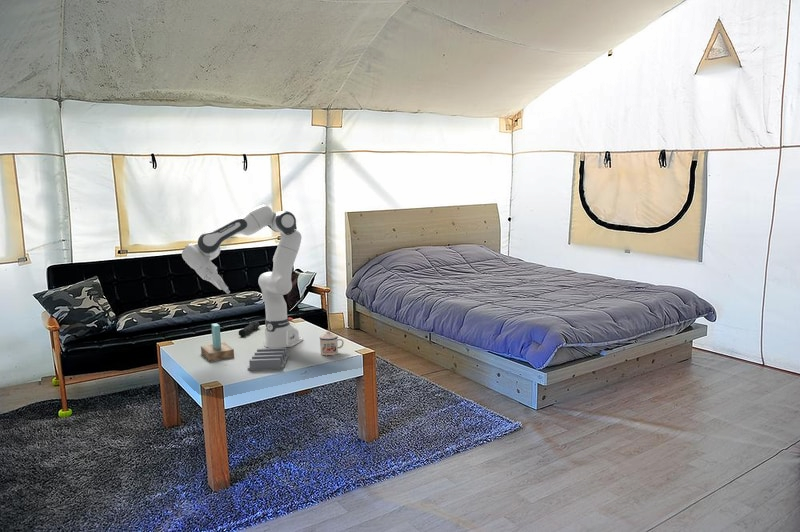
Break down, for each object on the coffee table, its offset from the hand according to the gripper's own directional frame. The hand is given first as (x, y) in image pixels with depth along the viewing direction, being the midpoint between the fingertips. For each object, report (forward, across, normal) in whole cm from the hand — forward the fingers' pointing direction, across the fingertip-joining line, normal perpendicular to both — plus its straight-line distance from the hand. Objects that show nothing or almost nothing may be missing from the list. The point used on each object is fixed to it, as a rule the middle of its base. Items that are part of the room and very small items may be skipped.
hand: (228, 290), depth 288 cm
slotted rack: (+40, -4, +11) cm, 41 cm away
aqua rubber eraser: (+15, +14, +23) cm, 31 cm away
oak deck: (+17, +16, +26) cm, 35 cm away
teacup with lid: (+58, +4, -14) cm, 60 cm away
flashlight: (+15, +57, +5) cm, 60 cm away
